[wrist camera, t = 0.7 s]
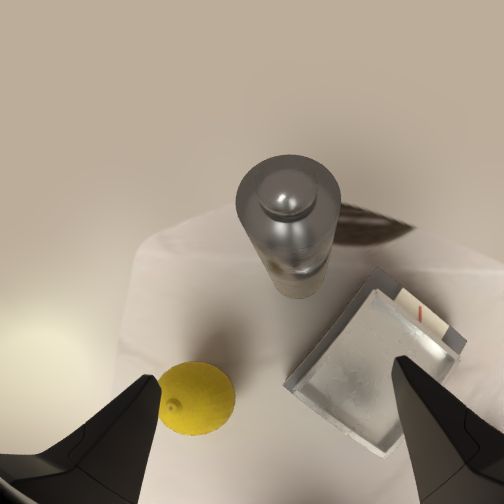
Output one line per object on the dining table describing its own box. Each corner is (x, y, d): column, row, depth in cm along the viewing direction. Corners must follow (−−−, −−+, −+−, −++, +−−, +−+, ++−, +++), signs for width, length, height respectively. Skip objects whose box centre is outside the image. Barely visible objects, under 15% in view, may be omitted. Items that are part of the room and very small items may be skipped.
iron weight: (334, 268, 23) (365, 172, 10) (301, 309, 23) (296, 261, 9) (293, 238, 25) (276, 123, 11) (261, 276, 24) (205, 193, 11)
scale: (450, 342, 19) (478, 339, 15) (373, 445, 18) (387, 466, 13) (368, 275, 22) (383, 259, 18) (285, 380, 21) (280, 389, 17)
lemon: (204, 346, 23) (159, 346, 16) (258, 384, 21) (234, 403, 14) (172, 393, 22) (120, 408, 15) (221, 431, 20) (184, 465, 13)
